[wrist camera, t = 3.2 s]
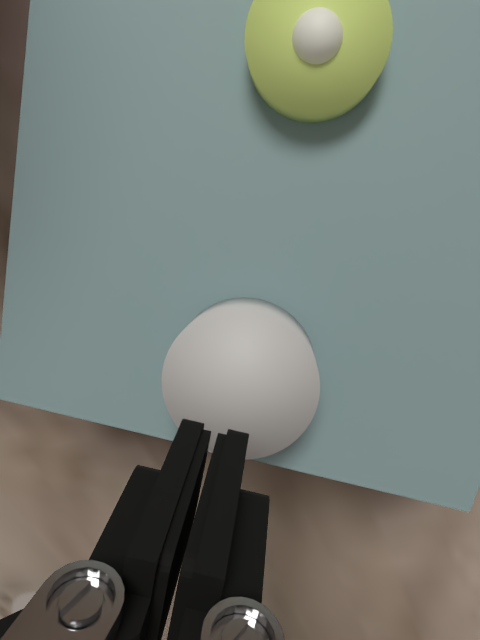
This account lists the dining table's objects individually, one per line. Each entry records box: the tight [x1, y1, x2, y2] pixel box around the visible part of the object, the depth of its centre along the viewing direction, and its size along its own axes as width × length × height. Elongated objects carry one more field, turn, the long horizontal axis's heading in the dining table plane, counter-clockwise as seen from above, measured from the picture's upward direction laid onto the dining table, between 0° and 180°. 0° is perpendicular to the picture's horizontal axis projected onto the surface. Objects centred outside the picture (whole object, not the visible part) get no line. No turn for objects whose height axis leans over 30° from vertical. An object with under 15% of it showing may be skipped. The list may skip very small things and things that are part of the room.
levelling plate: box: [0, 0, 480, 513], centre depth 14 cm, size 20×18×4 cm
